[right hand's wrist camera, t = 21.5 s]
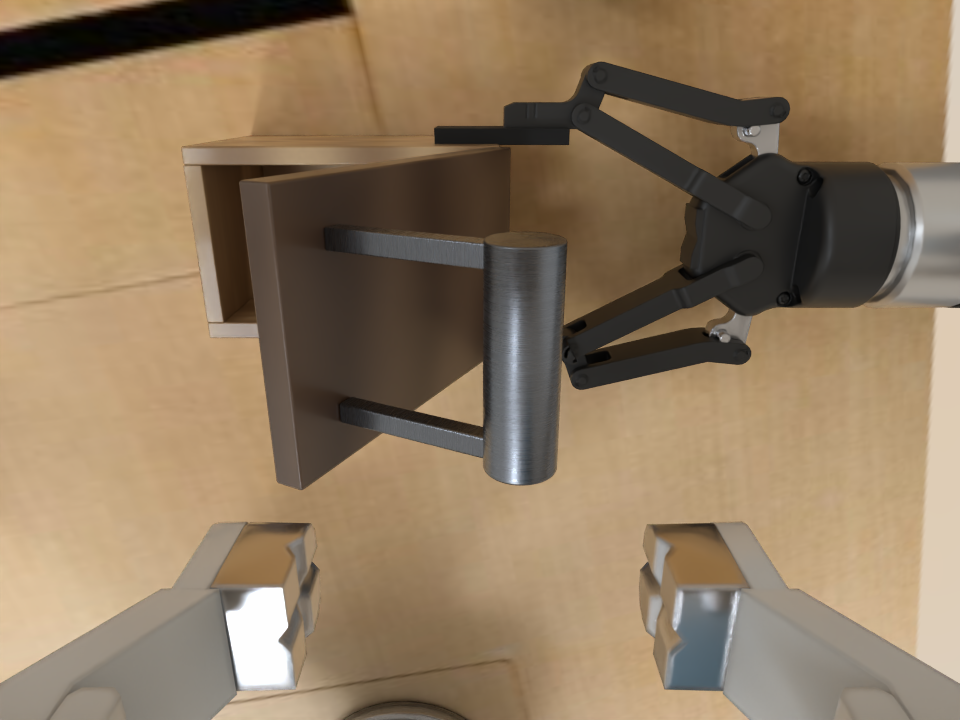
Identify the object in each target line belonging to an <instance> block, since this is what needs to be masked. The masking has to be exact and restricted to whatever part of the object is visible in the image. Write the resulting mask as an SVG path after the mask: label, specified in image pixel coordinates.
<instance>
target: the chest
mask: <svg viewBox="0 0 960 720" xmlns="http://www.w3.org/2000/svg"><path fill="white" fill-rule="evenodd" d="M487 147H500V146H499V144H435V139H434V136H246V137H240V138H233V139H227V140H220V141H214V142H208V143H201V144H195V145H188V146H183V147H181V150H182V157H183V163H184V172H185V179H186V185H187V192H188V198H189V205H190V211H191V218H192V224H193V231H194V237H195V244H196V250H197V257H198V263H199V270H200V276H201V282H202V289H203V295H204V302H205V308H206V315H207V321H208V327H209V334H210V338H259V336H258V328H257V320H256V312H255V304H254V296H253V288H252V280H251V272H250V264H249V256H248V249H247V241H246V233H245V225H244V217H243V209H242V201H241V193H240V185H239V182H240V181H241V180H246V179H254V178H261V177H269V176H277V175H284V174H292V173H299V172H307V171H314V170H322V169H329V168H337V167H344V166H352V165H359V164H367V163H374V162H382V161H389V160H397V159H404V158H412V157H419V156H427V155H434V154H442V153H449V152H457V151H464V150H472V149H479V148H487Z"/></svg>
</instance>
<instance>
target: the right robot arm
mask: <svg viewBox="0 0 960 720" xmlns="http://www.w3.org/2000/svg"><path fill="white" fill-rule="evenodd" d="M316 548H317V542H316V534H315V528H314V527H313V525H312V524H311V523H267V522H250V523H247V522H218V523H216V524H213V525H212V526H211V527H210V529H209V530H208V532H207V534H206V535H205V537H204V538H203V540H202V541H201V543H200V545H199V546H198V548H197V549H196V551H195V552H194V554H193V555H192V557H191V559H190V560H189V562H188V563H187V565H186V566H185V568H184V570H183V571H182V573H181V574H180V576H179V577H178V579H177V581H176V582H175V584H174V585H173V587H172V588H171V589H160V590H159V591H157V592H155V593H154V594H152V595H150V596H148V597H147V598H145V599H143V600H142V601H140V602H138V603H137V604H135V605H133V606H131V607H130V608H128V609H126V610H125V611H123V612H121V613H119V614H118V615H116V616H114V617H113V618H111V619H109V620H108V621H106V622H104V623H102V624H101V625H99V626H97V627H96V628H94V629H92V630H90V631H89V632H87V633H85V634H84V635H82V636H80V637H79V638H77V639H75V640H73V641H72V642H70V643H68V644H67V645H65V646H63V647H61V648H60V649H58V650H56V651H55V652H53V653H51V654H50V655H48V656H46V657H44V658H43V659H41V660H39V661H38V662H36V663H34V664H32V665H31V666H29V667H27V668H26V669H24V670H22V671H21V672H19V673H17V674H15V675H14V676H12V677H10V678H9V679H7V680H5V681H3V682H2V683H0V720H211V719H212V718H213V717H214V716H215V715H216V714H217V713H218V712H219V711H220V710H221V709H222V708H223V707H224V706H225V705H226V704H227V703H229V702H230V701H231V700H232V699H233V698H234V697H235V696H236V695H237V692H236V691H254V690H289V689H296V686H297V683H298V680H299V677H300V674H301V671H302V667H303V664H304V661H305V658H306V655H307V651H306V641H305V638H306V637H307V636H309V635H310V634H311V633H312V632H314V629H315V626H316V622H317V619H318V614H319V607H320V600H321V580H320V570H319V569H318V568H317V566H316V565H315V564H314V563H313V562H312V559H313V557H314V554H315V551H316ZM643 548H644V551H645V554H646V557H647V559H648V562H647V563H646V564H645V565H644V566H643V568H642V569H641V570H640V582H639V597H640V609H641V614H642V619H643V622H644V626H645V629H646V632H648V633H649V634H650V635H651V636H653V637H654V638H655V641H654V650H653V655H654V658H655V661H656V664H657V667H658V670H659V674H660V677H661V680H662V683H663V686H664V689H670V690H705V691H723V694H724V695H725V696H726V697H727V698H728V699H729V700H730V701H731V702H732V703H733V704H734V705H735V706H736V707H737V708H738V709H739V710H740V711H741V712H742V713H743V714H744V715H745V716H746V717H747V718H748V719H749V720H960V684H959V683H958V682H956V681H954V680H953V679H951V678H949V677H947V676H946V675H944V674H942V673H941V672H939V671H937V670H936V669H934V668H932V667H930V666H929V665H927V664H925V663H924V662H922V661H920V660H919V659H917V658H915V657H913V656H912V655H910V654H908V653H907V652H905V651H903V650H902V649H900V648H898V647H896V646H895V645H893V644H891V643H890V642H888V641H886V640H885V639H883V638H881V637H879V636H878V635H876V634H874V633H873V632H871V631H869V630H868V629H866V628H864V627H862V626H861V625H859V624H857V623H856V622H854V621H852V620H851V619H849V618H847V617H845V616H844V615H842V614H840V613H839V612H837V611H835V610H834V609H832V608H830V607H828V606H827V605H825V604H823V603H822V602H820V601H818V600H817V599H815V598H813V597H811V596H810V595H808V594H806V593H805V592H803V591H801V590H800V589H789V588H788V587H787V585H786V584H785V582H784V581H783V579H782V578H781V576H780V575H779V573H778V571H777V570H776V568H775V567H774V565H773V564H772V562H771V561H770V559H769V557H768V556H767V554H766V553H765V551H764V550H763V548H762V547H761V545H760V544H759V542H758V540H757V539H756V537H755V536H754V534H753V533H752V531H751V530H750V528H749V526H748V525H747V524H745V523H743V522H714V523H698V524H647V526H646V529H645V533H644V541H643Z"/></svg>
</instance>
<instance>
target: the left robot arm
mask: <svg viewBox="0 0 960 720" xmlns="http://www.w3.org/2000/svg"><path fill="white" fill-rule="evenodd" d="M604 94H607V95H611V96H614V97H618V98H621V99H625V100H629V101H632V102H636V103H639V104H643V105H647V106H650V107H654V108H657V109H661V110H665V111H668V112H672V113H675V114H679V115H683V116H686V117H690V118H693V119H697V120H701V121H704V122H708V123H713V124H719V125H727V126H731V134H732V137H733V138H734V139H735V140H737V141H741V142H745V143H747V144H748V145H749V146H750V148H751V155H749V156H747V157H746V158H744V159H743V160H741V161H740V162H739V163H737V164H736V165H734V166H733V167H731V168H730V169H728V170H727V171H725V172H724V173H722V174H721V175H719V176H718V177H715V176H713V175H711V174H710V173H708V172H706V171H704V170H702V169H700V168H698V167H696V166H695V165H693V164H691V163H690V162H688V161H686V160H684V159H683V158H681V157H679V156H678V155H676V154H674V153H672V152H671V151H669V150H667V149H666V148H664V147H662V146H661V145H659V144H657V143H655V142H654V141H652V140H650V139H649V138H647V137H645V136H643V135H642V134H640V133H638V132H637V131H635V130H633V129H631V128H630V127H628V126H626V125H625V124H623V123H621V122H619V121H618V120H616V119H614V118H613V117H611V116H609V115H608V114H606V113H604V112H602V111H601V110H599V107H600V104H601V102H602V99H603V97H604ZM789 111H790V106H789V103H788V101H787V100H786V99H784V98H782V97H755V98H746V99H734V98H730V97H727V96H723V95H720V94H716V93H712V92H709V91H705V90H702V89H698V88H695V87H691V86H688V85H684V84H680V83H677V82H673V81H670V80H666V79H663V78H659V77H656V76H652V75H648V74H645V73H641V72H638V71H634V70H631V69H627V68H624V67H620V66H617V65H613V64H609V63H606V62H597V63H593V64H590V65H588V66H586V67H585V68H584V69H583V71H582V73H581V79H580V81H579V84H578V86H577V89H576V91H575V93H574V95H573V96H572V97H571V98H570V99H569V100H567V101H565V102H513V103H511V104H509V105H506V106H504V126H437V127H436V128H434V139H435V144H499V145H569V132H570V129H578V130H579V131H581V132H583V133H584V134H586V135H588V136H590V137H591V138H593V139H595V140H597V141H598V142H600V143H602V144H604V145H605V146H607V147H609V148H611V149H612V150H614V151H616V152H617V153H619V154H621V155H623V156H624V157H626V158H628V159H630V160H631V161H633V162H635V163H637V164H638V165H640V166H642V167H644V168H645V169H647V170H649V171H650V172H652V173H654V174H656V175H657V176H659V177H661V178H663V179H664V180H666V181H668V182H670V183H671V184H673V185H674V186H676V187H678V188H679V189H681V190H683V191H685V192H686V193H688V194H690V195H692V196H693V197H692V199H691V201H690V203H686V209H685V224H686V230H687V233H686V236H685V239H684V241H683V244H682V247H681V255H680V261H681V262H682V263H683V264H682V265H680V266H678V267H676V268H674V269H672V270H670V271H668V272H666V273H665V274H664V275H663V277H662V278H660V279H658V280H656V281H654V282H652V283H650V284H648V285H646V286H644V287H642V288H640V289H638V290H635V291H633V292H631V293H629V294H627V295H625V296H623V297H621V298H619V299H617V300H615V301H613V302H611V303H609V304H607V305H605V306H603V307H601V308H599V309H597V310H595V311H593V312H591V313H589V314H586V315H584V316H582V317H580V318H578V319H576V320H574V321H572V322H570V323H568V324H566V325H564V326H563V345H562V361H563V362H564V363H565V365H566V368H567V371H568V374H569V377H570V380H571V383H572V385H573V386H574V387H575V388H576V389H579V390H584V389H589V388H593V387H597V386H602V385H606V384H611V383H615V382H620V381H624V380H629V379H633V378H637V377H642V376H646V375H651V374H655V373H660V372H664V371H669V370H673V369H677V368H682V367H686V366H691V365H695V364H700V363H704V362H715V363H725V364H735V365H740V364H744V363H746V362H747V361H748V360H749V359H750V357H751V350H750V348H749V347H748V346H747V345H746V344H745V343H746V339H747V335H748V331H749V327H750V323H751V319H752V316H754V315H757V314H759V313H761V312H763V311H765V310H768V309H771V308H776V307H787V308H854V307H858V306H860V305H864V306H866V307H870V308H929V307H948V308H960V163H941V162H886V163H882V164H880V165H875V164H873V163H870V162H792V161H790V160H788V159H786V158H785V157H783V156H782V155H780V154H778V141H779V124H780V123H781V122H782V121H784V120H785V119H786V118H787V116H788V115H789ZM713 297H715V298H716V299H718V300H719V301H720V302H722V303H723V304H724V305H726V306H727V307H728V308H729V311H728V313H727V314H726V315H725V316H724V317H722V318H719V319H713V320H711V321H709V322H708V323H707V325H706V327H705V328H689V329H683V330H679V331H675V332H670V333H666V334H662V335H657V336H653V337H649V338H644V339H640V340H636V341H631V342H627V343H623V344H618V345H614V346H610V347H605V348H601V349H598V348H600V347H602V346H604V345H606V344H608V343H610V342H612V341H614V340H617V339H619V338H621V337H623V336H625V335H627V334H629V333H631V332H633V331H635V330H637V329H640V328H642V327H644V326H646V325H648V324H650V323H652V322H654V321H656V320H658V319H660V318H663V317H665V316H667V315H669V314H671V313H673V312H675V311H677V310H679V309H683V308H691V307H694V306H696V305H698V304H700V303H702V302H705V301H707V300H709V299H711V298H713ZM596 349H597V350H596ZM344 720H465V719H464V718H462V717H461V716H459V715H457V714H455V713H453V712H451V711H448V710H446V709H443V708H440V707H437V706H433V705H429V704H424V703H416V702H391V703H384V704H378V705H375V706H371V707H368V708H365V709H362V710H360V711H358V712H356V713H354V714H352V715H350V716H349V717H347V718H346V719H344Z"/></svg>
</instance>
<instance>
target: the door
mask: <svg viewBox="0 0 960 720" xmlns="http://www.w3.org/2000/svg"><path fill="white" fill-rule="evenodd" d="M510 156H511V149H510V148H507V147H487V148H479V149H472V150H464V151H457V152H449V153H442V154H434V155H427V156H419V157H412V158H404V159H397V160H389V161H382V162H374V163H367V164H359V165H352V166H344V167H337V168H329V169H322V170H314V171H307V172H299V173H292V174H284V175H277V176H269V177H261V178H254V179H246V180H241V181H240V182H239V185H240V193H241V201H242V209H243V217H244V225H245V233H246V241H247V249H248V256H249V264H250V272H251V280H252V288H253V296H254V304H255V312H256V320H257V328H258V336H259V343H260V351H261V359H262V367H263V375H264V383H265V391H266V399H267V407H268V415H269V422H270V430H271V438H272V446H273V454H274V462H275V470H276V478H277V482H278V483H280V484H283V485H286V486H289V487H292V488H296V489H299V490H303V489H305V488H306V487H308V486H309V485H310V484H312V483H313V482H315V481H316V480H317V479H319V478H320V477H322V476H323V475H324V474H326V473H327V472H329V471H330V470H331V469H333V468H334V467H336V466H337V465H338V464H340V463H341V462H343V461H344V460H345V459H347V458H348V457H350V456H351V455H352V454H354V453H355V452H357V451H358V450H359V449H361V448H362V447H364V446H365V445H366V444H368V443H369V442H371V441H372V440H373V439H375V438H376V437H378V436H379V435H380V434H382V433H386V434H390V435H394V436H397V437H401V438H405V439H409V440H413V441H417V442H421V443H425V444H429V445H433V446H437V447H441V448H445V449H449V450H453V451H457V452H461V453H464V454H468V455H472V456H476V457H480V458H483V467H484V470H485V472H486V473H487V474H488V475H489V476H490V477H491V478H493V479H495V480H497V481H499V482H502V483H506V484H511V485H533V484H538V483H541V482H544V481H546V480H548V479H549V478H551V477H552V476H553V475H554V473H555V472H556V469H557V453H558V431H559V410H560V388H561V366H562V345H563V323H564V301H565V280H566V258H567V240H566V239H565V238H564V237H561V236H558V235H554V234H549V233H541V232H509V223H510ZM481 362H483V427H480V426H476V425H472V424H467V423H463V422H459V421H454V420H450V419H446V418H441V417H437V416H433V415H428V414H424V413H420V412H416V411H414V410H416V409H417V408H418V407H420V406H421V405H423V404H424V403H425V402H427V401H428V400H430V399H431V398H432V397H434V396H435V395H437V394H438V393H439V392H441V391H442V390H444V389H445V388H446V387H448V386H449V385H451V384H452V383H453V382H455V381H456V380H458V379H459V378H460V377H462V376H463V375H465V374H466V373H467V372H469V371H470V370H472V369H473V368H474V367H476V366H477V365H479V364H480V363H481Z"/></svg>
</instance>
